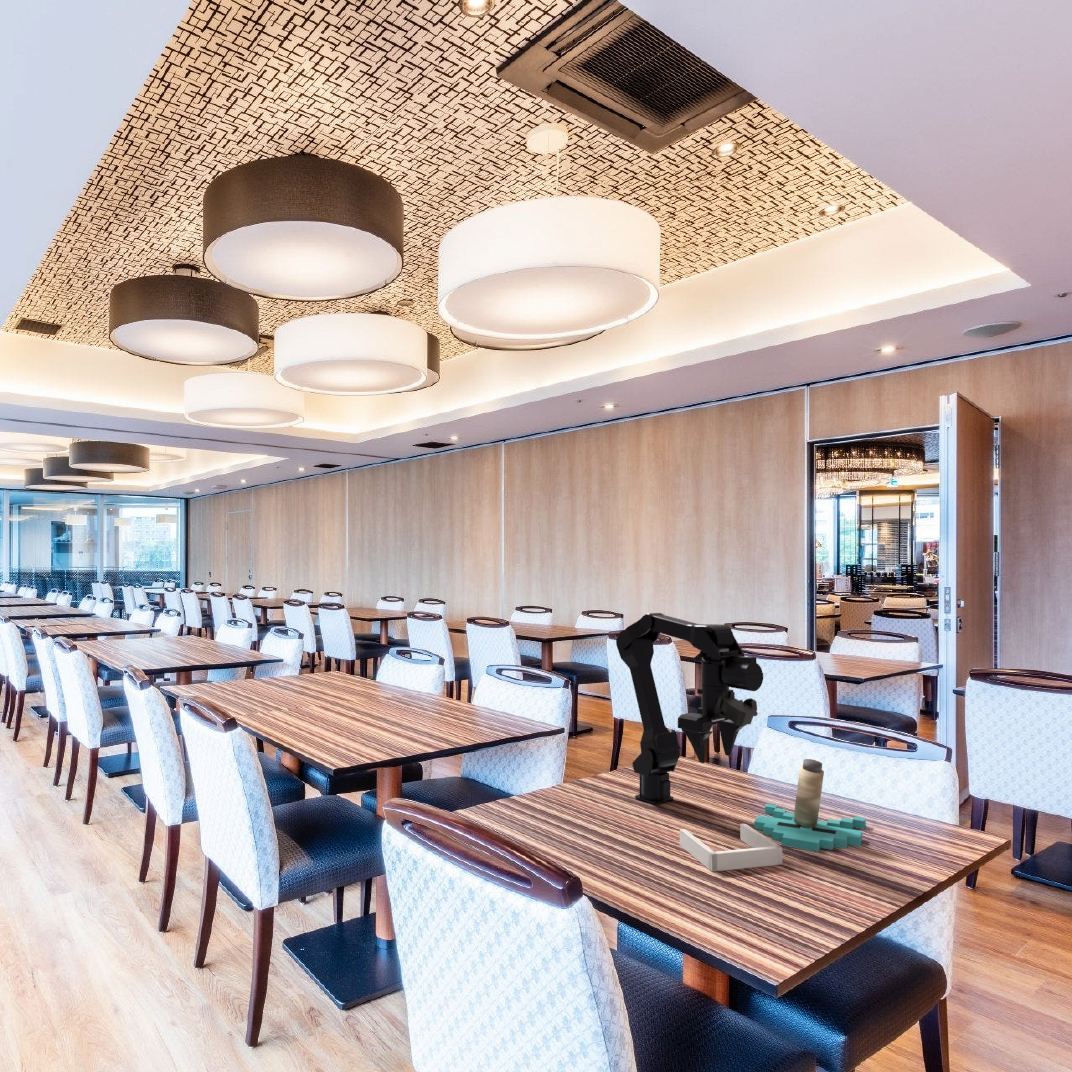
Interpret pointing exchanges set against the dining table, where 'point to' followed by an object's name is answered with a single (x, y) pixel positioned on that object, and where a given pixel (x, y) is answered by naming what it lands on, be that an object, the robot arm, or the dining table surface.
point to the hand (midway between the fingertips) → (715, 759)
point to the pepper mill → (808, 793)
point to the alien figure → (809, 830)
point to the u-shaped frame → (735, 851)
